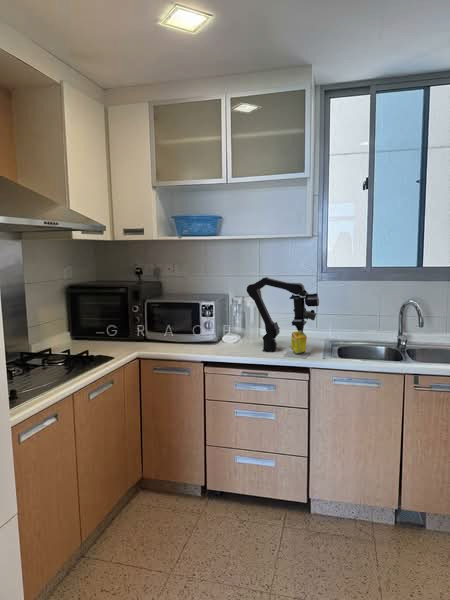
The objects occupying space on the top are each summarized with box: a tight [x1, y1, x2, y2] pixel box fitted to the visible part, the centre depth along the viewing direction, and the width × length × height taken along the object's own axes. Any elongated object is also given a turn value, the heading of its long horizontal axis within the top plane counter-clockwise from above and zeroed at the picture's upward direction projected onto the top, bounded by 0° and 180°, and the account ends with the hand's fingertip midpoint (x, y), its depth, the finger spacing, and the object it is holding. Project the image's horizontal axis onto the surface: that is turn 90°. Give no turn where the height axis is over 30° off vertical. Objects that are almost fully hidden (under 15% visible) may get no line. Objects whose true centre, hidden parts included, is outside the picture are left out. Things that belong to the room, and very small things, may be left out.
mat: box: [283, 350, 310, 359], centre depth 219 cm, size 12×12×1 cm
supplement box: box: [290, 330, 307, 355], centre depth 218 cm, size 6×6×11 cm
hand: (301, 335), depth 221 cm, fingers closed
